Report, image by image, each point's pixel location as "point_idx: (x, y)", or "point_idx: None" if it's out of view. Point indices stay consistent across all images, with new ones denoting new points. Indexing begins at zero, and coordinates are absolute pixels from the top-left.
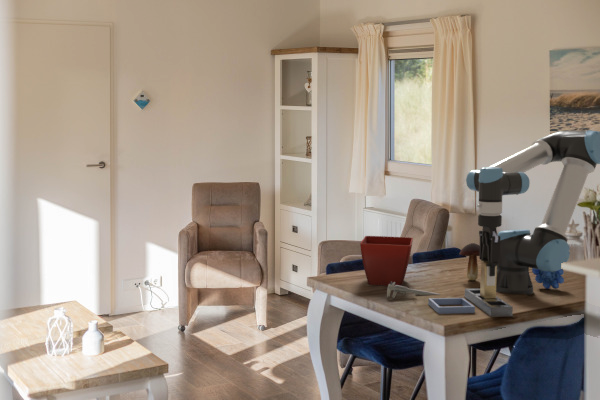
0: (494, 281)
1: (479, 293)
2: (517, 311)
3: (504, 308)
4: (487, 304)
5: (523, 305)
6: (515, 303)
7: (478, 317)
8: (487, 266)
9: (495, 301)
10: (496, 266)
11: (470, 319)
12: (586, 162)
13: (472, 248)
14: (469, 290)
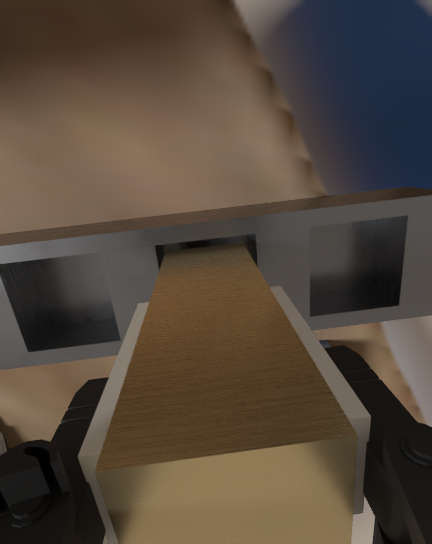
0: (289, 307)
1: (19, 284)
2: (254, 105)
3: None
4: (377, 320)
5: (99, 7)
6: (51, 51)
7: (351, 329)
8: (353, 509)
9: (309, 260)
10: (324, 386)
11: (376, 363)
12: None
13: None
14: (35, 353)
